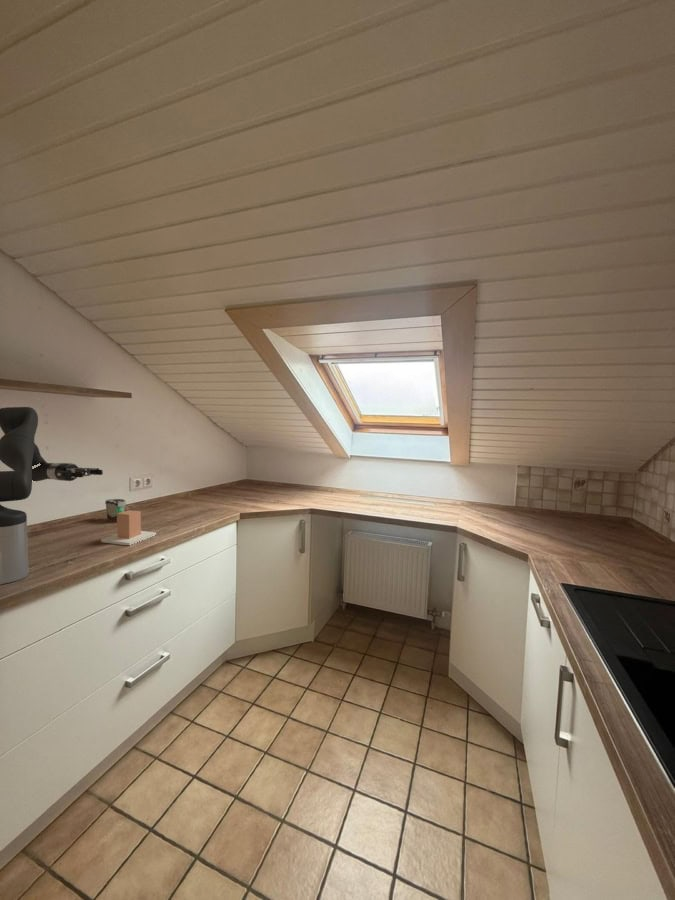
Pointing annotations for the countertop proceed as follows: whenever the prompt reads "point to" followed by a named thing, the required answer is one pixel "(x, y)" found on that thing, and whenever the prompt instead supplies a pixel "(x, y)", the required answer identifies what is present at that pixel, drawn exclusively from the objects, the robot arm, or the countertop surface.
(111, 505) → the food container
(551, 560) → the countertop surface
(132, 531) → the salmon orange block
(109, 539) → the post
